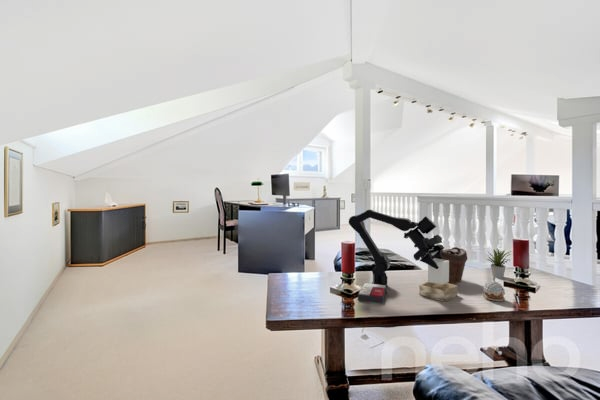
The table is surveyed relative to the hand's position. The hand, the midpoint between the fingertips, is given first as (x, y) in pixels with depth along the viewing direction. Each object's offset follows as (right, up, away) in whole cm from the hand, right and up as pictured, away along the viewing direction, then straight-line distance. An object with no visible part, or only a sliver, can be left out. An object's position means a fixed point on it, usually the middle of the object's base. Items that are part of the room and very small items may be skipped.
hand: (441, 267), depth 138 cm
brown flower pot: (+16, -13, +26) cm, 32 cm away
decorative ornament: (+22, -14, -3) cm, 26 cm away
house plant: (+47, -12, +30) cm, 57 cm away
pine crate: (0, -13, +2) cm, 14 cm away
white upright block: (-1, -7, +1) cm, 7 cm away
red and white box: (-31, -14, +2) cm, 34 cm away
